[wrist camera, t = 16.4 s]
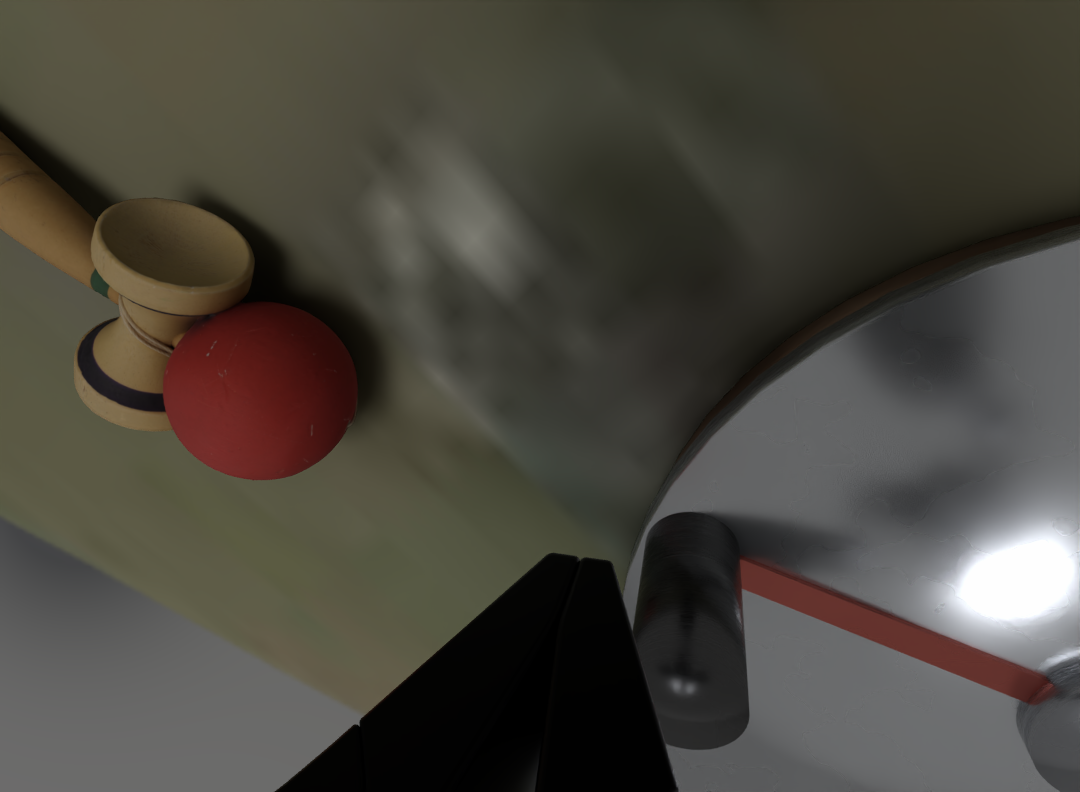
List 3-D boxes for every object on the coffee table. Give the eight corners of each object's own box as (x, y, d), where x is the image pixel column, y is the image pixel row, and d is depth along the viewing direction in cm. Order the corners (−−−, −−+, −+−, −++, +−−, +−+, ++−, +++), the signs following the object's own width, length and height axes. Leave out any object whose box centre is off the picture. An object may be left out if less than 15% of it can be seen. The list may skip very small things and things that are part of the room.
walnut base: (661, 196, 18) (656, 207, 17) (2148, 204, 12) (2391, 225, 10) (629, 796, 30) (625, 839, 29) (1362, 958, 24) (1413, 1026, 22)
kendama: (3, 227, 27) (327, 497, 25) (-202, 219, 21) (209, 572, 19) (63, 56, 24) (426, 346, 23) (-150, -9, 18) (326, 379, 17)
